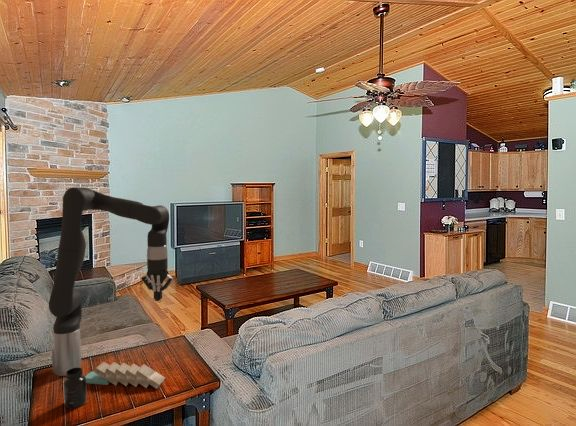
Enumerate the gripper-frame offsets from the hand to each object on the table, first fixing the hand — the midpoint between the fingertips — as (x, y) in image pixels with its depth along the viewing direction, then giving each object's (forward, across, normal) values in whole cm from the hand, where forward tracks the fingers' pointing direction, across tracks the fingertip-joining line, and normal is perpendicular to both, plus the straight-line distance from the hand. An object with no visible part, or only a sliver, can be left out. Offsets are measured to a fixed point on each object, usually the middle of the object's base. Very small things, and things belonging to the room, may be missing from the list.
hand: (158, 300), depth 147 cm
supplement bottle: (+31, +20, +22) cm, 43 cm away
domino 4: (+30, +4, +7) cm, 31 cm away
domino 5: (+30, 0, +7) cm, 31 cm away
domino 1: (+30, +16, +7) cm, 35 cm away
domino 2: (+30, +12, +7) cm, 33 cm away
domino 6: (+30, -4, +7) cm, 31 cm away
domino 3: (+30, +8, +7) cm, 32 cm away
